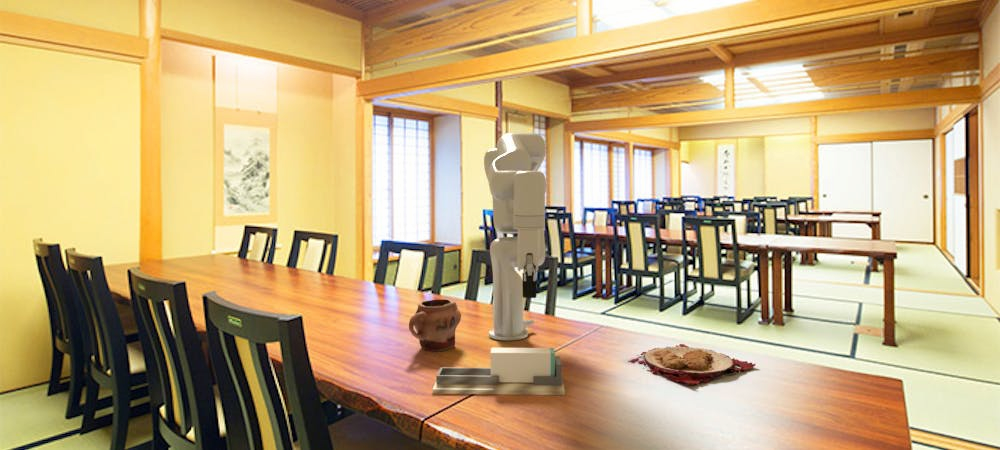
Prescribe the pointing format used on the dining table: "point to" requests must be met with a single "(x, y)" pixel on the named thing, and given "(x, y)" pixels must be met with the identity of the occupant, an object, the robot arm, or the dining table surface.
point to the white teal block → (522, 363)
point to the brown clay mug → (435, 324)
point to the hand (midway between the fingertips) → (529, 292)
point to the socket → (550, 380)
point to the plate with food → (690, 363)
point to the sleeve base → (485, 383)
